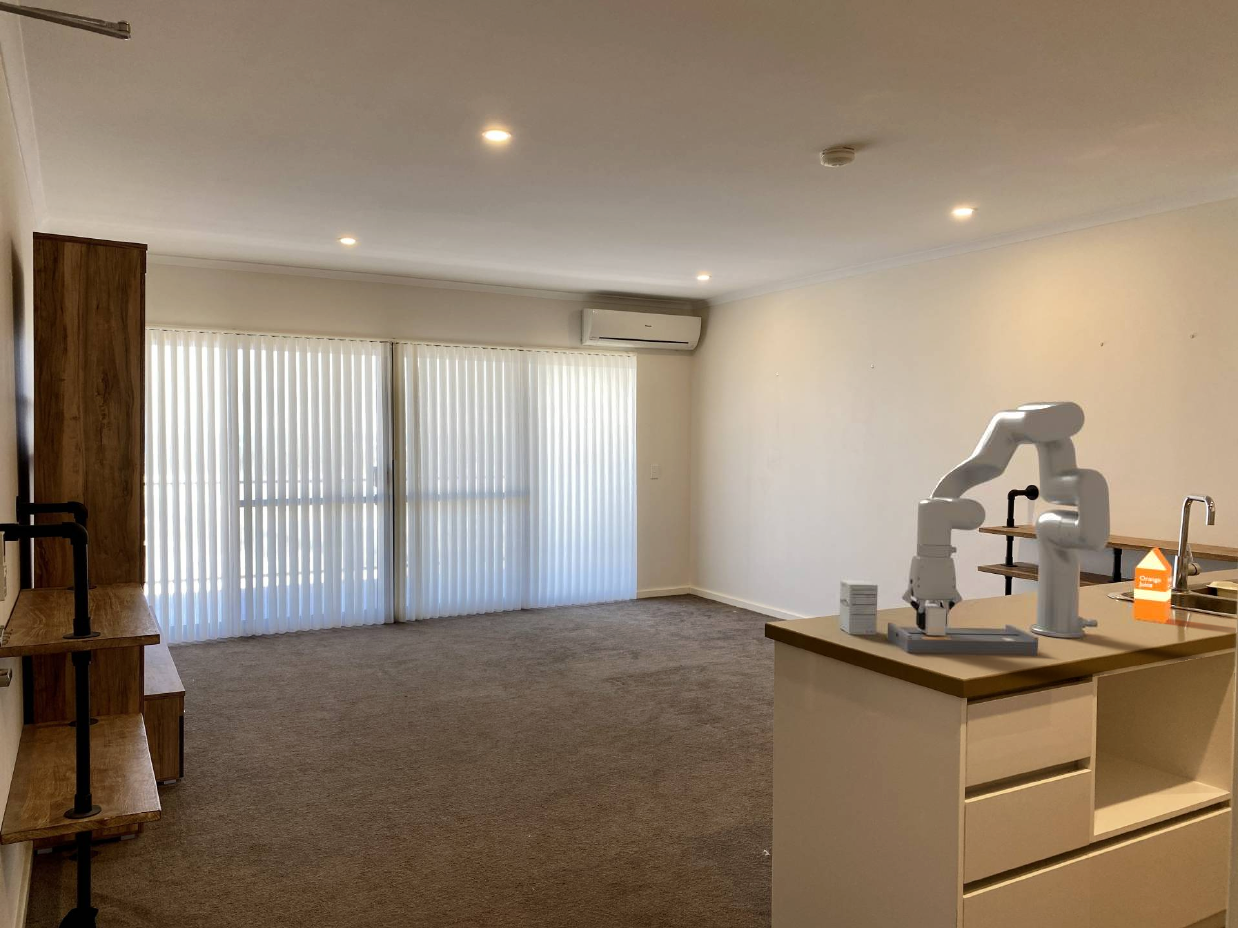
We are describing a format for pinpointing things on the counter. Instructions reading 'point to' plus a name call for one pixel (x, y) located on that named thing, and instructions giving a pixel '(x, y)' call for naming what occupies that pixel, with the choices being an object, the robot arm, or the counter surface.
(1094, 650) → the counter surface
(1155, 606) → the orange juice
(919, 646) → the fader board
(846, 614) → the supplement box
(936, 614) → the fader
